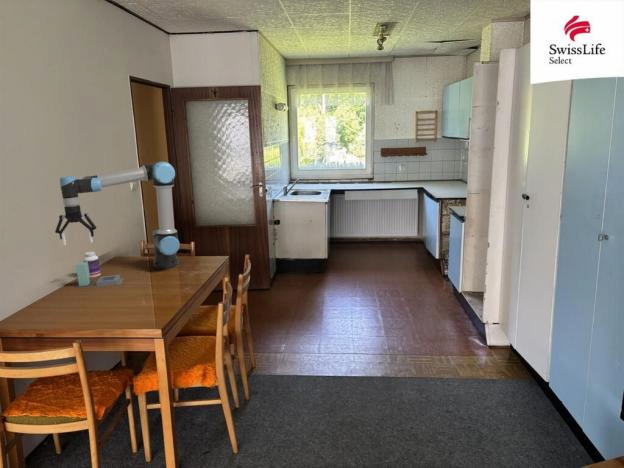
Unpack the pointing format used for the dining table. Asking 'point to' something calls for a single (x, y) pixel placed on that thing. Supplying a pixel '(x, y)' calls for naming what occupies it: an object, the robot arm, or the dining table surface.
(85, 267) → the plug
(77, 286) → the mat
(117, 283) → the grey socket tray
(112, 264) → the dining table surface
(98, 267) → the pill bottle
